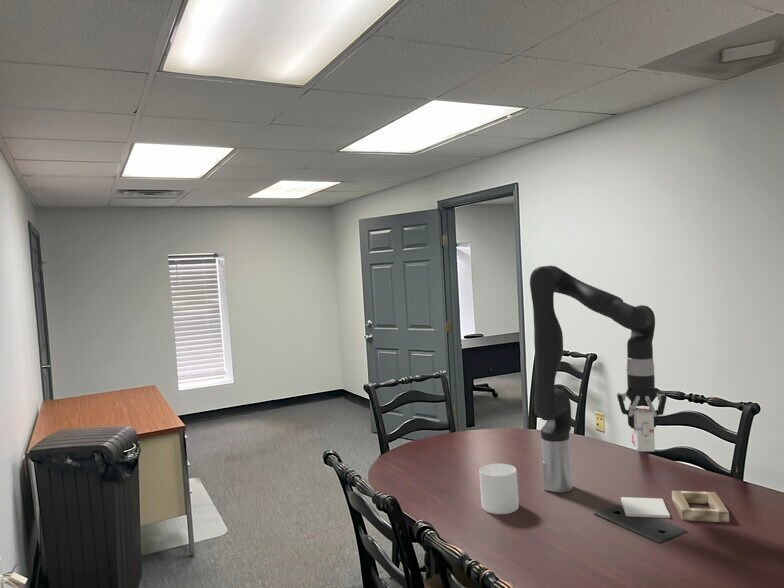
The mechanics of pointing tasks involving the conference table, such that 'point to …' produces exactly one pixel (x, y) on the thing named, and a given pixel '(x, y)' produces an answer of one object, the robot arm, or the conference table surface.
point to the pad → (645, 507)
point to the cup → (499, 488)
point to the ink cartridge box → (643, 428)
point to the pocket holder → (696, 514)
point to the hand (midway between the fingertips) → (642, 427)
